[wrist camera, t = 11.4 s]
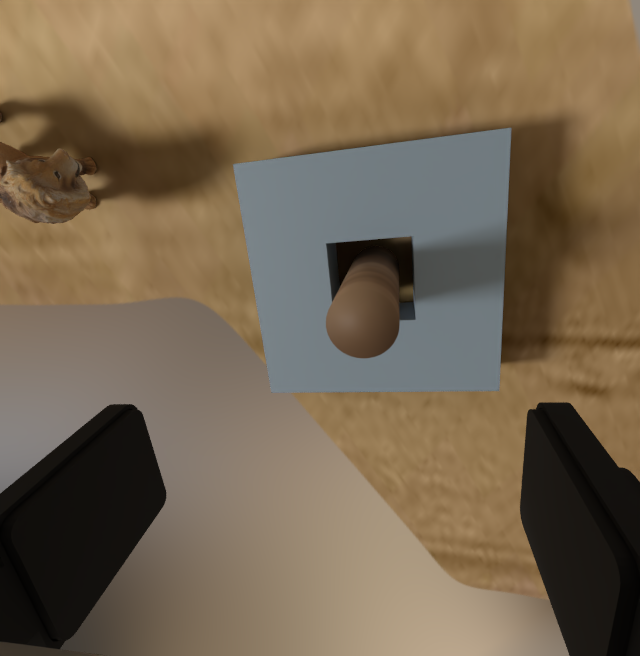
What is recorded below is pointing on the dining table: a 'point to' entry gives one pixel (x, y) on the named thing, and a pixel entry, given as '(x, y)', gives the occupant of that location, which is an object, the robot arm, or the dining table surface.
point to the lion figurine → (44, 185)
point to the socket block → (379, 223)
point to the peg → (366, 305)
